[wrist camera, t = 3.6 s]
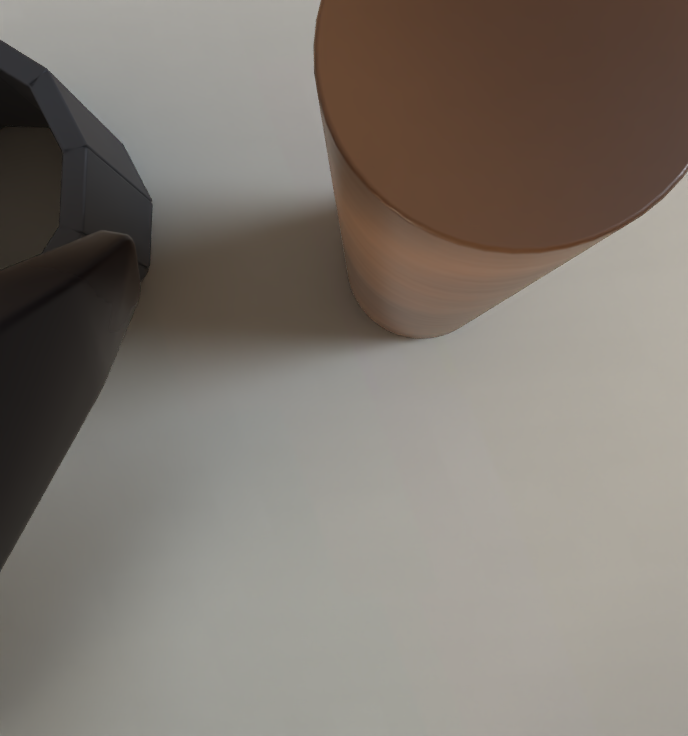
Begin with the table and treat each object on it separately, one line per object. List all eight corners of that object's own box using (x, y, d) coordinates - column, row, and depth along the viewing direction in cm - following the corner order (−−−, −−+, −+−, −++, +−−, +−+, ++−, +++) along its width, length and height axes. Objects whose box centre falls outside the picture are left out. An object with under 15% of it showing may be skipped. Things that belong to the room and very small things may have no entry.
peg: (390, 364, 19) (434, 326, 7) (321, 234, 19) (240, -34, 7) (522, 294, 18) (811, 128, 7) (451, 164, 19) (605, -231, 7)
